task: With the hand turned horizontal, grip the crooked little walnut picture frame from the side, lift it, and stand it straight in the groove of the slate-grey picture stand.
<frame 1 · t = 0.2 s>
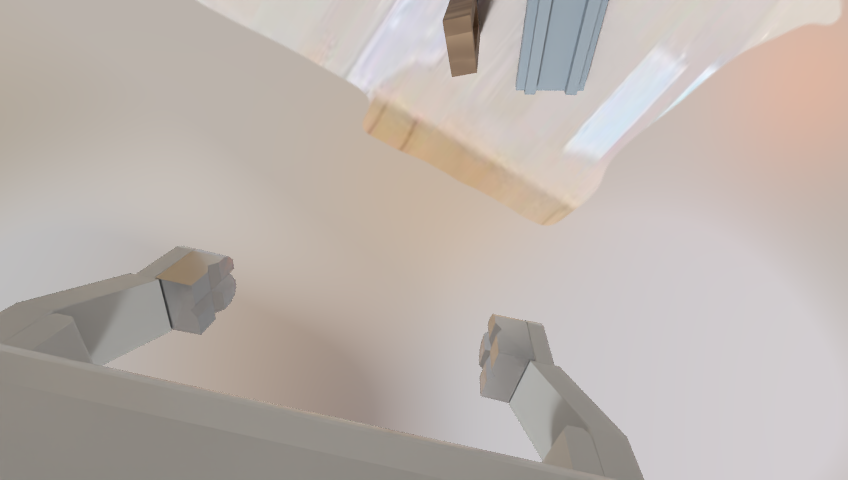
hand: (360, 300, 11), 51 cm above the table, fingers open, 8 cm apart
picture stand: (563, 12, 47), on the table
frame: (467, 14, 49), on the table
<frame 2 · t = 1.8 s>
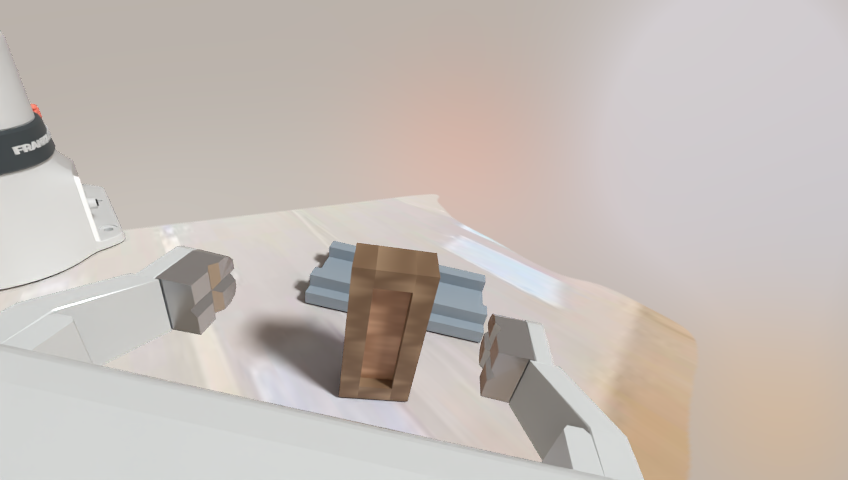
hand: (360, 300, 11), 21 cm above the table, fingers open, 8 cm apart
picture stand: (400, 294, 43), on the table
frame: (374, 384, 32), on the table
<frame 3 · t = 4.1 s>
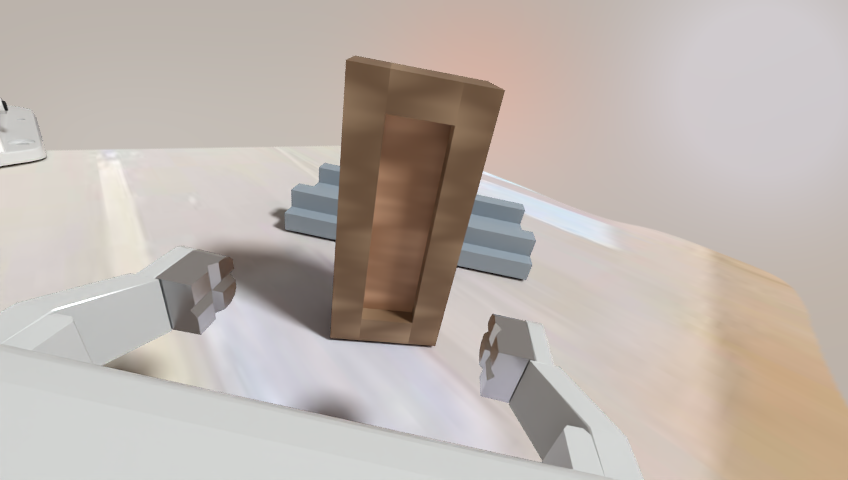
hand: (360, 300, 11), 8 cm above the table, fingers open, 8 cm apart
picture stand: (413, 226, 32), on the table
frame: (384, 323, 21), on the table
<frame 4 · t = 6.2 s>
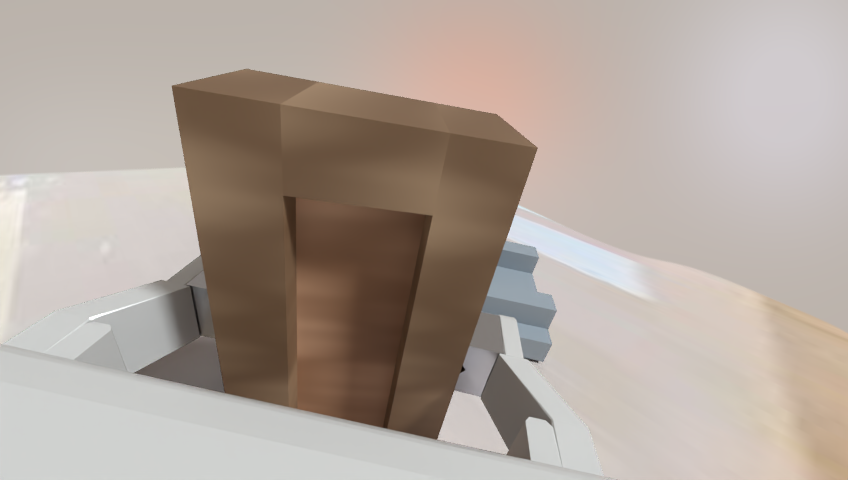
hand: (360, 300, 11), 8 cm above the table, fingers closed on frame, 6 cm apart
picture stand: (396, 278, 25), on the table
frame: (337, 466, 14), on the table, touching gripper
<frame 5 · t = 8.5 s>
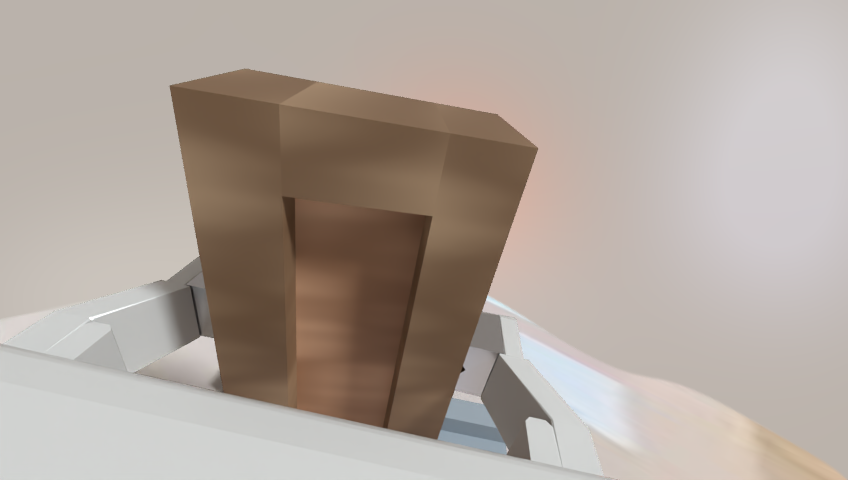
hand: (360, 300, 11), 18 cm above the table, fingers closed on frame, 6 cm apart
picture stand: (357, 459, 23), on the table
frame: (337, 467, 14), point 10 cm above the table, touching gripper
when the fingers open (11 cm above the table, at t = 11.0 s): frame drops 2 cm, resting on picture stand.
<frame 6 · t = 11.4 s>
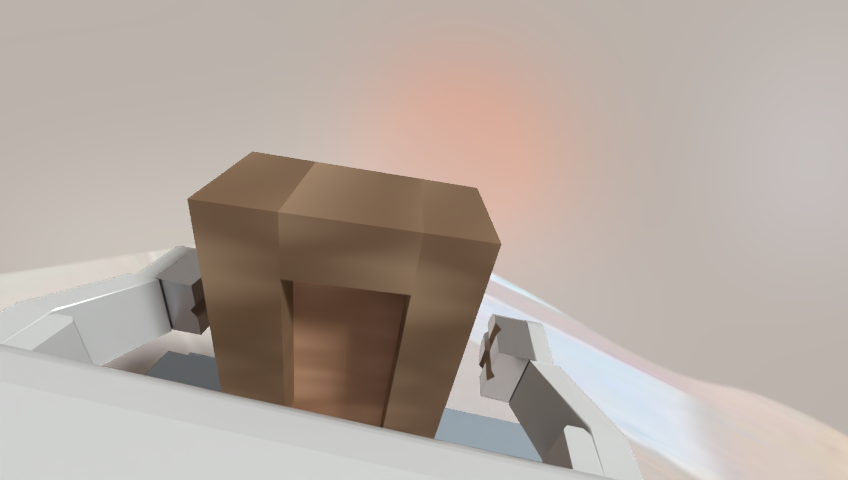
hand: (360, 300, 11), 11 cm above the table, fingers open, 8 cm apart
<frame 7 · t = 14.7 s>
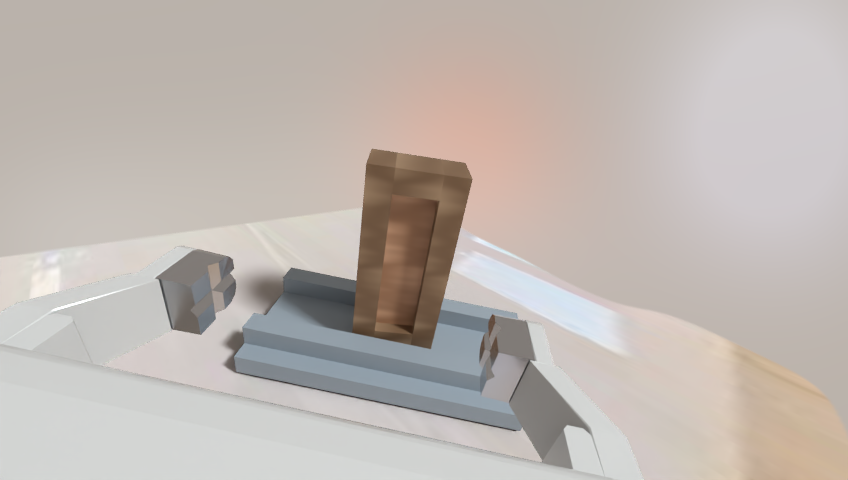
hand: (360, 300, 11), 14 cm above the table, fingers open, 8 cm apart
picture stand: (391, 347, 28), on the table
frame: (392, 333, 27), point 1 cm above the table, touching picture stand
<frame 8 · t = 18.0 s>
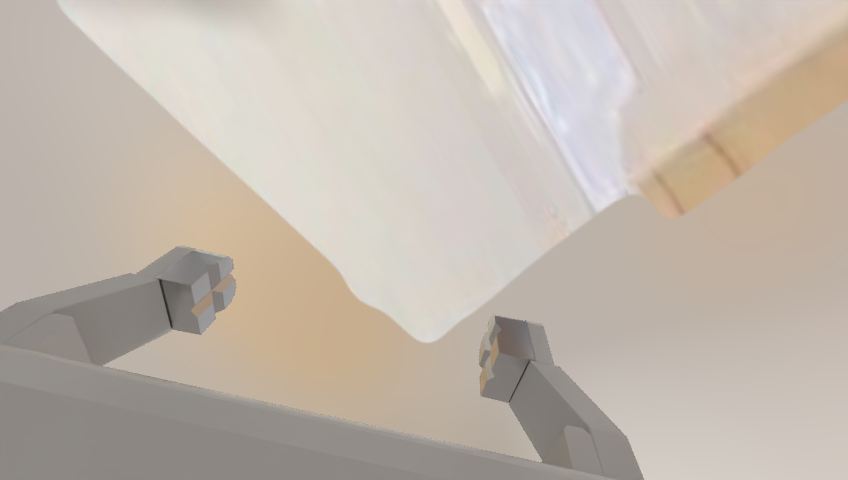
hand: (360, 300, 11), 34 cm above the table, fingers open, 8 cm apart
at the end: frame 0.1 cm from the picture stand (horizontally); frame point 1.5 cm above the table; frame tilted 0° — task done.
